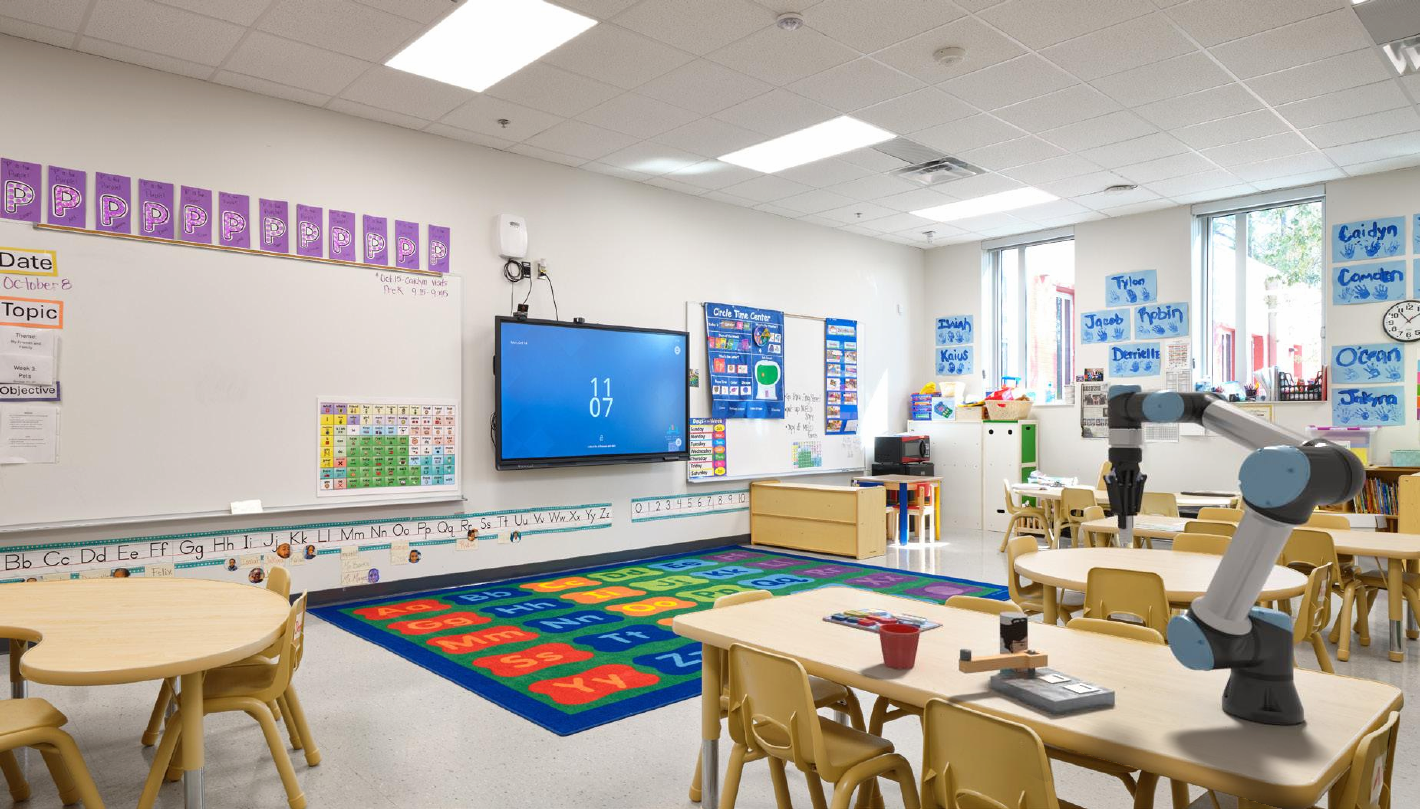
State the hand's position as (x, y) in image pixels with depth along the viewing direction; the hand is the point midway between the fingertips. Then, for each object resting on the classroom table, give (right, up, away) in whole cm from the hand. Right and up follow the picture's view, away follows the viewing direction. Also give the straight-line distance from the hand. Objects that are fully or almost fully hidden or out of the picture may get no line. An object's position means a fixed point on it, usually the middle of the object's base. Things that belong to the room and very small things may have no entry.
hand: (1125, 541), depth 208 cm
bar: (-33, -30, -5) cm, 44 cm away
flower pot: (-53, -35, +13) cm, 65 cm away
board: (-23, -34, -12) cm, 43 cm away
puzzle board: (-48, -37, +60) cm, 85 cm away
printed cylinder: (-26, -35, +5) cm, 44 cm away
